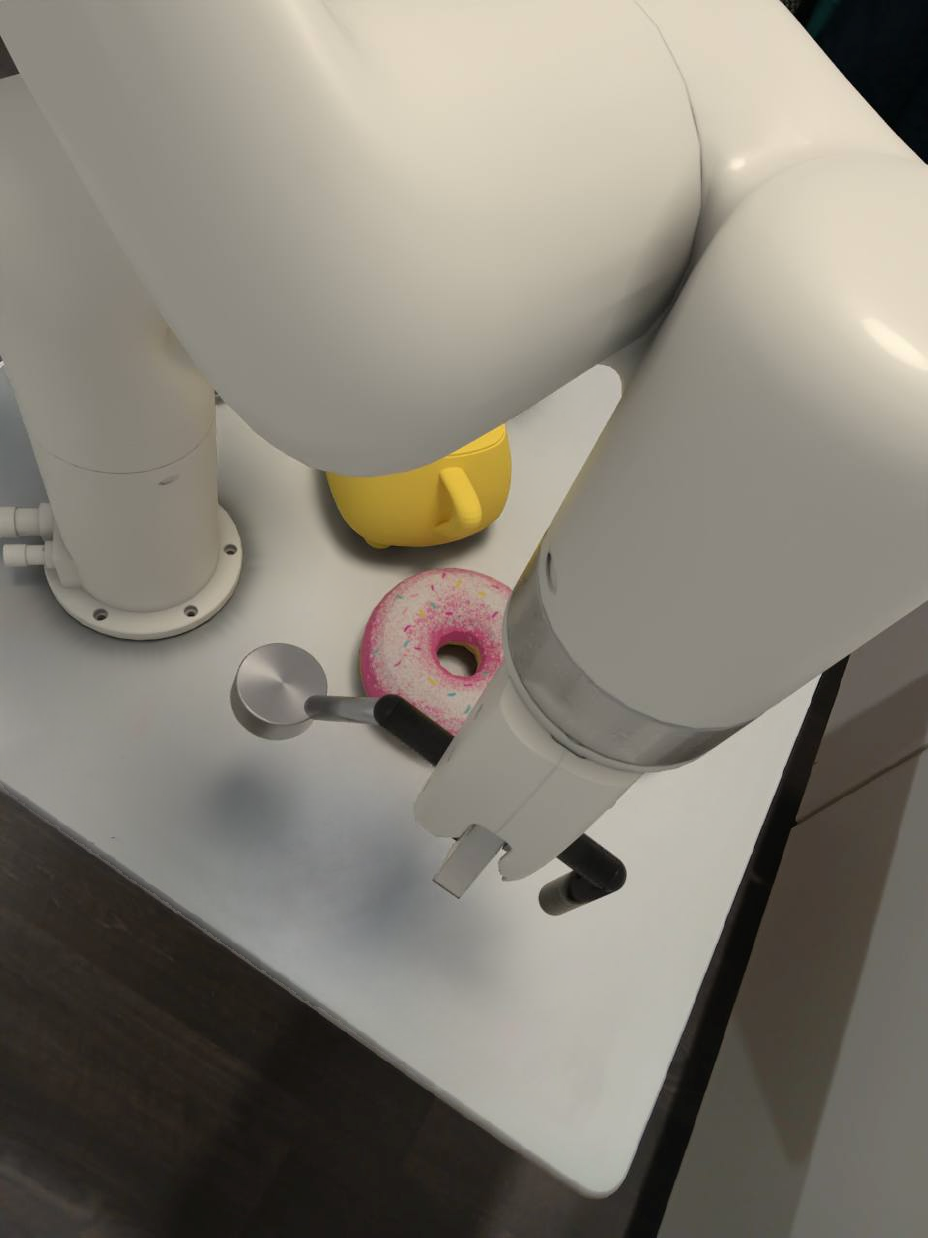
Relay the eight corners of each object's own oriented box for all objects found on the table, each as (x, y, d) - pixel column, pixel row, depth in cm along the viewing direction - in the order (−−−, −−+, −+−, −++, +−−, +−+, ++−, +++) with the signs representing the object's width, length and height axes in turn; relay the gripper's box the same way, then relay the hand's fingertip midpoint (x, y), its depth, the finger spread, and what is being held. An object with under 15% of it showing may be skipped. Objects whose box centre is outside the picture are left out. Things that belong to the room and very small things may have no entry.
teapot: (446, 390, 71) (484, 270, 60) (521, 586, 63) (579, 488, 52) (292, 399, 66) (303, 271, 55) (351, 612, 58) (378, 510, 47)
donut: (373, 574, 60) (384, 536, 56) (545, 612, 62) (568, 579, 58) (339, 745, 53) (348, 717, 49) (533, 782, 55) (558, 758, 51)
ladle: (210, 704, 39) (231, 638, 34) (266, 644, 42) (294, 574, 37) (541, 950, 39) (614, 924, 34) (576, 875, 42) (649, 839, 37)
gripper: (638, 407, 27) (493, 649, 43) (378, 771, 19) (315, 908, 35) (831, 527, 27) (613, 729, 42) (648, 957, 19) (461, 1011, 34)
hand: (479, 809), depth 39 cm, fingers closed on ladle
